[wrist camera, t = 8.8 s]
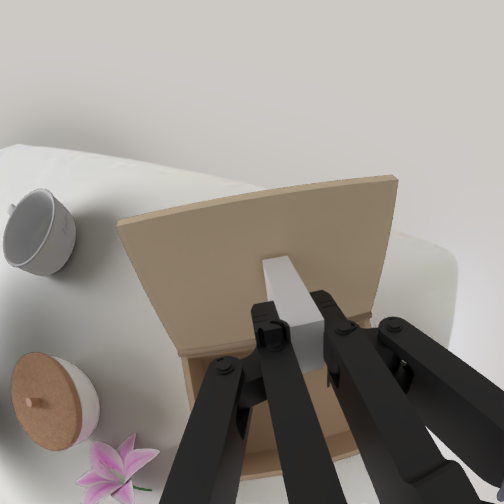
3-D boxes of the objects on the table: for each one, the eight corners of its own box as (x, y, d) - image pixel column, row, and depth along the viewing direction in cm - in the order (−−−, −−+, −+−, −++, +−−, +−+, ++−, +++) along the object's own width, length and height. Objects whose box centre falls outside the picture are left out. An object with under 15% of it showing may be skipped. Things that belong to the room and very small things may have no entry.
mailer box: (365, 427, 24) (392, 440, 17) (219, 459, 23) (208, 483, 17) (345, 326, 29) (368, 315, 22) (198, 355, 28) (180, 353, 21)
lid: (401, 182, 14) (391, 174, 15) (113, 230, 13) (119, 219, 14) (371, 319, 22) (365, 309, 22) (180, 358, 21) (180, 346, 22)
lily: (194, 442, 25) (135, 423, 19) (189, 532, 16) (126, 539, 10) (119, 432, 28) (63, 409, 22) (112, 506, 20) (51, 496, 13)
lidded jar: (48, 355, 27) (-1, 344, 19) (111, 361, 27) (62, 355, 19) (54, 430, 23) (6, 437, 15) (119, 446, 23) (75, 466, 15)
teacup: (97, 242, 33) (66, 213, 26) (51, 300, 30) (13, 282, 23) (59, 196, 37) (33, 168, 30) (20, 244, 34) (-10, 222, 27)
